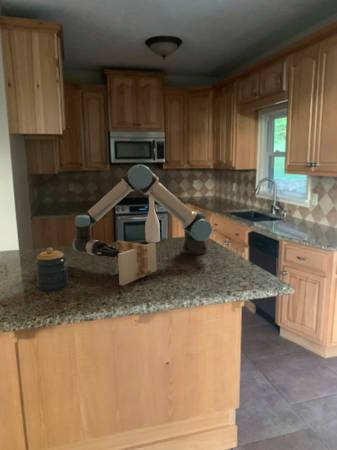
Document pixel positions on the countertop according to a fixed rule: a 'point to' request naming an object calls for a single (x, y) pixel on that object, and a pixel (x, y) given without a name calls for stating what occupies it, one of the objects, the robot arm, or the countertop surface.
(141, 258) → the brown angled piece
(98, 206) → the robot arm
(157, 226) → the white rounded block
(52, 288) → the canister
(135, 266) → the cream board
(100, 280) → the countertop surface
